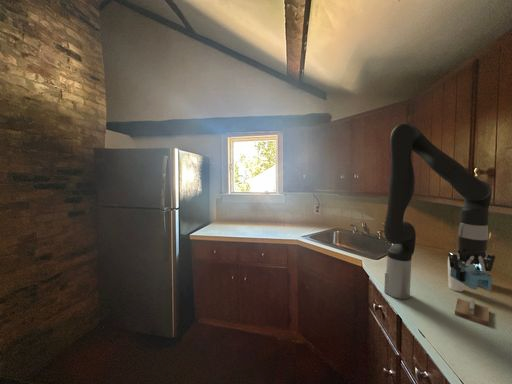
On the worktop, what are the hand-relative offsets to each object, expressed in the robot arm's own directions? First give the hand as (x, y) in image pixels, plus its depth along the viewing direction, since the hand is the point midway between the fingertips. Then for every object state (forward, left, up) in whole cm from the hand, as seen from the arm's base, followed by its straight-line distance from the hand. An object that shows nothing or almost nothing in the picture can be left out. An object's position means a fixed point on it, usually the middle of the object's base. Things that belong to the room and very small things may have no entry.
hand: (469, 280), depth 80 cm
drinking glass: (-5, +27, -16) cm, 31 cm away
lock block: (0, 0, -1) cm, 1 cm away
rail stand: (+1, +8, -15) cm, 17 cm away
